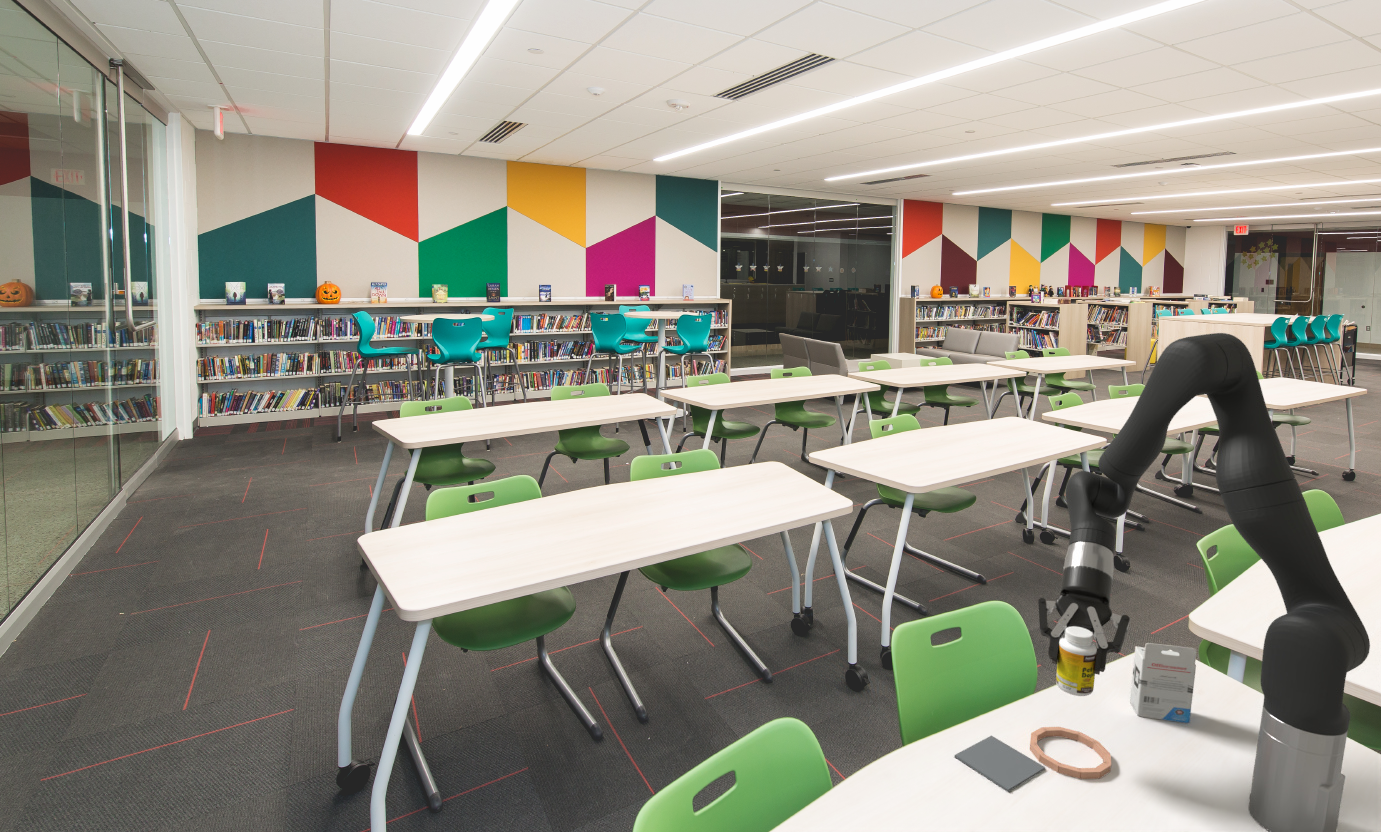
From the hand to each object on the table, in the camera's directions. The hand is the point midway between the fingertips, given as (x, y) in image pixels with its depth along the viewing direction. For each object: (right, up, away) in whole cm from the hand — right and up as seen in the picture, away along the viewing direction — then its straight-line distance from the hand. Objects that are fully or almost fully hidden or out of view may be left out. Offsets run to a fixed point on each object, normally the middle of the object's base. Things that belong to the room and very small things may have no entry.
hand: (1075, 666), depth 114 cm
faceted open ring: (+1, -16, +4) cm, 17 cm away
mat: (-12, -17, +2) cm, 21 cm away
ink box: (+24, -15, +16) cm, 33 cm away
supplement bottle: (+1, -5, +2) cm, 5 cm away
